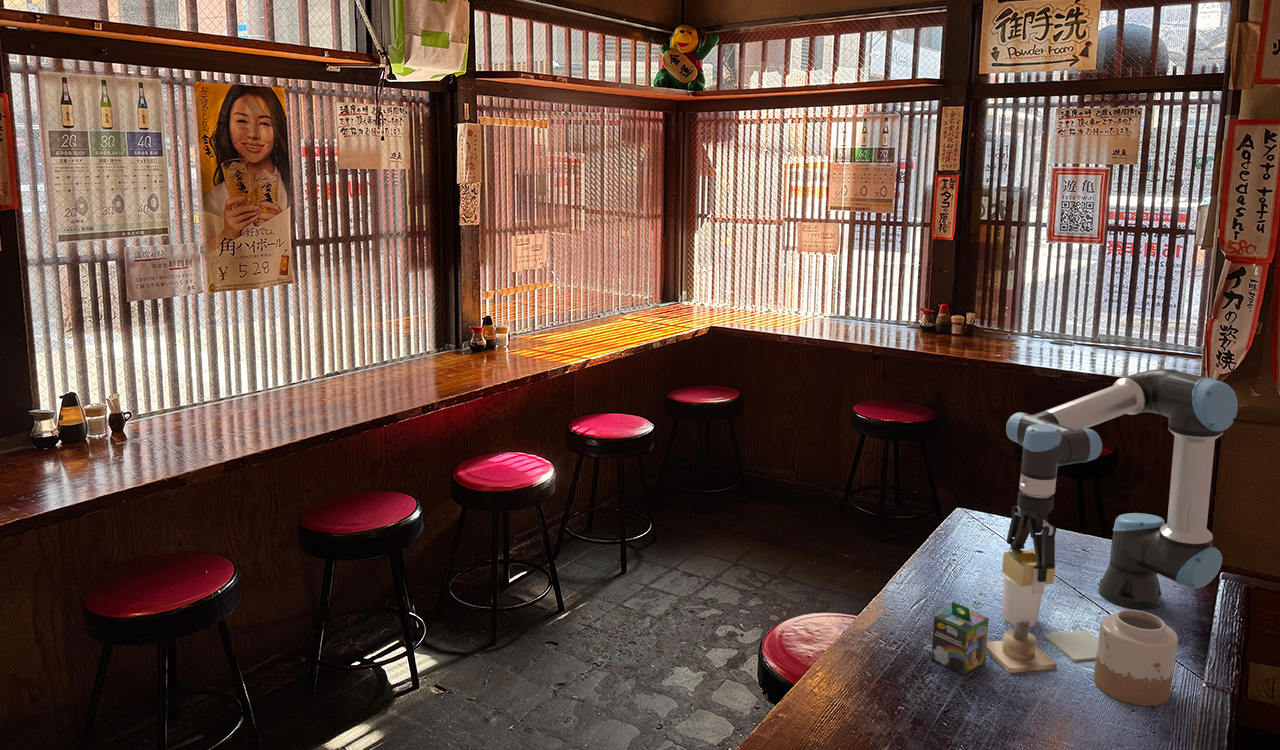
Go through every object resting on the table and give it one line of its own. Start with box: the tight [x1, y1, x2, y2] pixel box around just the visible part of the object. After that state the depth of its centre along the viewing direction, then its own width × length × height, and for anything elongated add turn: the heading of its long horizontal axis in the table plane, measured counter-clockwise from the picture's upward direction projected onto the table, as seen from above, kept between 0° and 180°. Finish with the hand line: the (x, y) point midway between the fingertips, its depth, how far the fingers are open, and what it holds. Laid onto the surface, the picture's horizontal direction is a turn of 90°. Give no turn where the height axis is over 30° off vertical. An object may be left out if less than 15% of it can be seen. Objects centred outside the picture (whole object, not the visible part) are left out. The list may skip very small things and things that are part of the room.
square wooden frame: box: [1001, 549, 1056, 587], centre depth 217 cm, size 8×8×5 cm
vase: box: [1093, 609, 1179, 707], centre depth 208 cm, size 15×15×17 cm
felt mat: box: [1043, 630, 1099, 663], centre depth 227 cm, size 12×12×1 cm
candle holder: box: [1002, 573, 1044, 628], centre depth 239 cm, size 10×10×12 cm
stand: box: [986, 618, 1058, 674], centre depth 221 cm, size 12×12×10 cm
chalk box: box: [931, 601, 990, 675], centre depth 219 cm, size 9×9×15 cm
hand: (1026, 584), depth 218 cm, fingers closed on square wooden frame, 8 cm apart
